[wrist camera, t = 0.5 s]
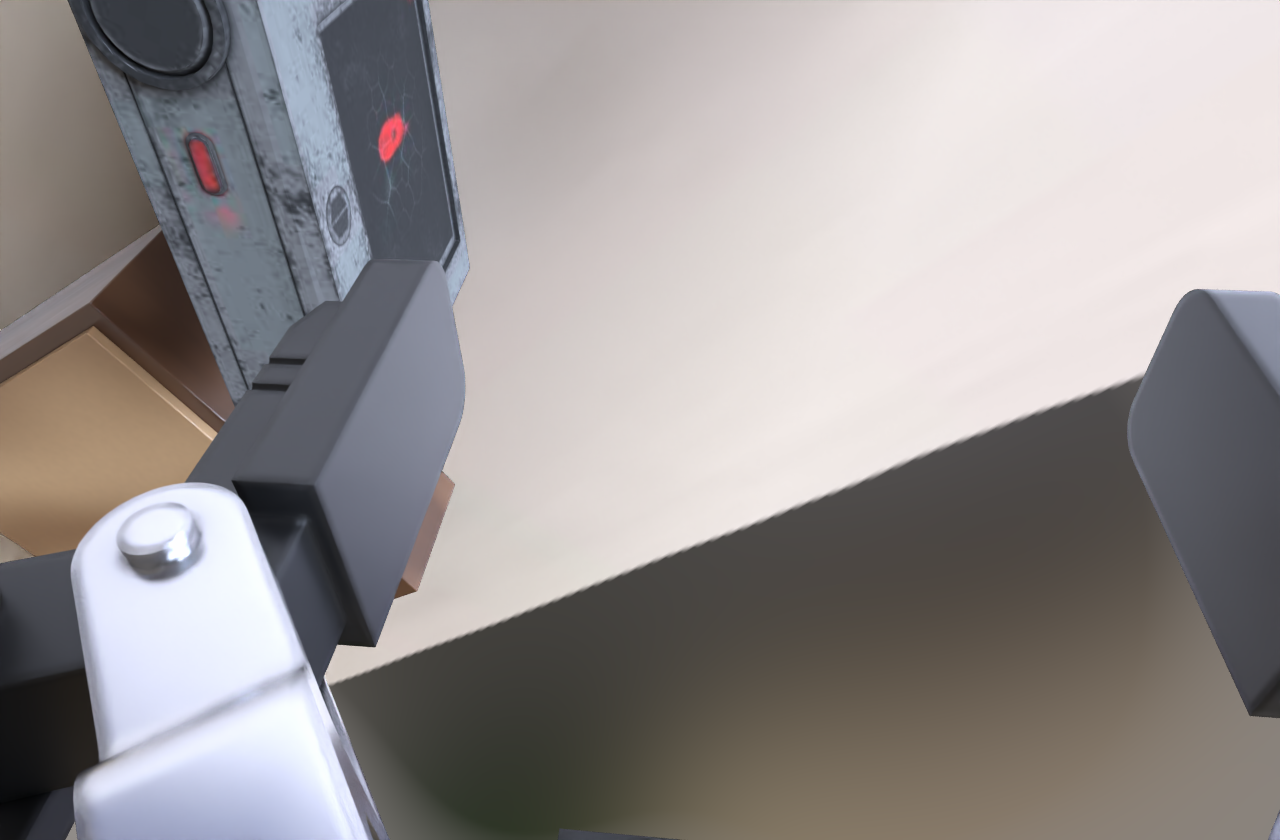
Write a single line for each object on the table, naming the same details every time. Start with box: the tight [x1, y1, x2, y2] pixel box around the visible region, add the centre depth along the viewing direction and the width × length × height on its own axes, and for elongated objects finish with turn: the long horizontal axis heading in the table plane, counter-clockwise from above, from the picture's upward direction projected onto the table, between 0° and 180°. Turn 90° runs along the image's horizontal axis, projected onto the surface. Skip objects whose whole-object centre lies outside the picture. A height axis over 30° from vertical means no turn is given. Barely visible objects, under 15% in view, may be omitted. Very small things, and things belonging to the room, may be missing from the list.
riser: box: [0, 224, 455, 599], centre depth 35 cm, size 15×13×6 cm
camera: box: [68, 0, 470, 407], centre depth 22 cm, size 16×4×10 cm, turn 0°
